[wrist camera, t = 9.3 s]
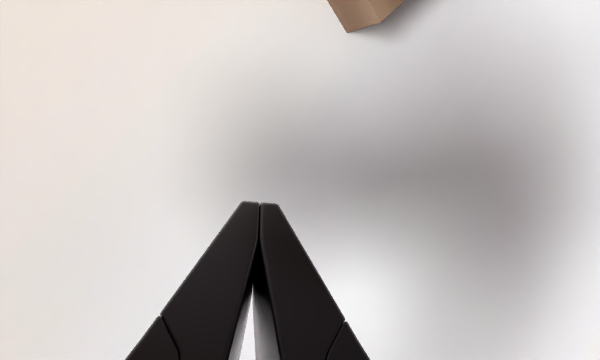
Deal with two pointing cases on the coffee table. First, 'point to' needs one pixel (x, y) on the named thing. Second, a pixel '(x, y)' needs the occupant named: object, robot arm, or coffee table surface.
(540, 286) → the coffee table surface
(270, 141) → the coffee table surface
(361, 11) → the walnut card box
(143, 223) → the coffee table surface
